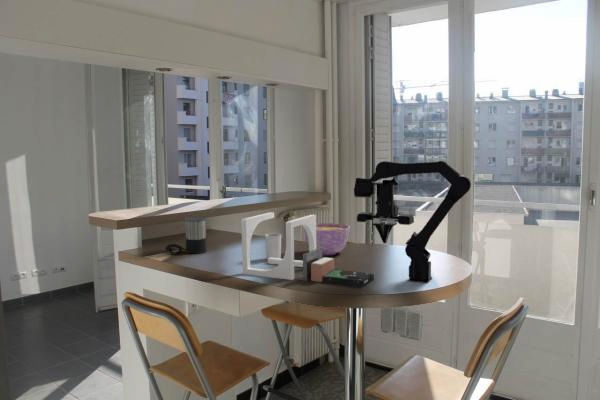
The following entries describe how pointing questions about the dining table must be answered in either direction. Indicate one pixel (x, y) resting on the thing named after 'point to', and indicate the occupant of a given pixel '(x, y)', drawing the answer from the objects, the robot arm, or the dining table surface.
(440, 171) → the robot arm
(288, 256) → the white arched frame
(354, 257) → the dining table surface
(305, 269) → the metal plate
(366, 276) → the disk drive
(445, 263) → the dining table surface
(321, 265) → the book
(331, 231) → the bowl of food
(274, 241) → the drinking glass
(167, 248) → the milk frother
